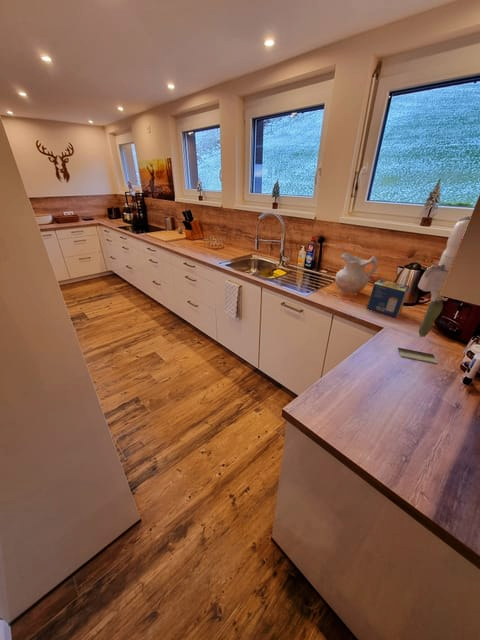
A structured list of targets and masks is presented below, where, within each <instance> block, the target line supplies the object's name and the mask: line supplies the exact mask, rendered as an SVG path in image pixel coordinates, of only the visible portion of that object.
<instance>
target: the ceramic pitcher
mask: <svg viewBox="0 0 480 640" xmlns="http://www.w3.org/2000/svg"><path fill="white" fill-rule="evenodd" d="M340 258H341V260H343V261H344V266H343V268H342V269H340V270H338V271H337V272H336V274H335V284H336V286H337V287H338V291H339V292H340V293H341V294H343V295H346V294H347V295H346V296H356V295H355V294H357V292H361V291H363V290H364V289H365V288H366V287H367V285H368V283H369V282H370V279H371V277H372V276H373V275H374V273H375V272H376V270H377V269H378V266H379V261H378V258H377V256H375V255H372V256H370V258H369V259H361V257H359V256H355V255H354V256H353V255H352V254H351V253H349V252H344V253H343V254H342V255H341V257H340ZM372 263H373V268H372V269H371V270H370V271H369V273H368V274H367V273H365V269H366V266H367V265H369V264H372Z"/></svg>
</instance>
